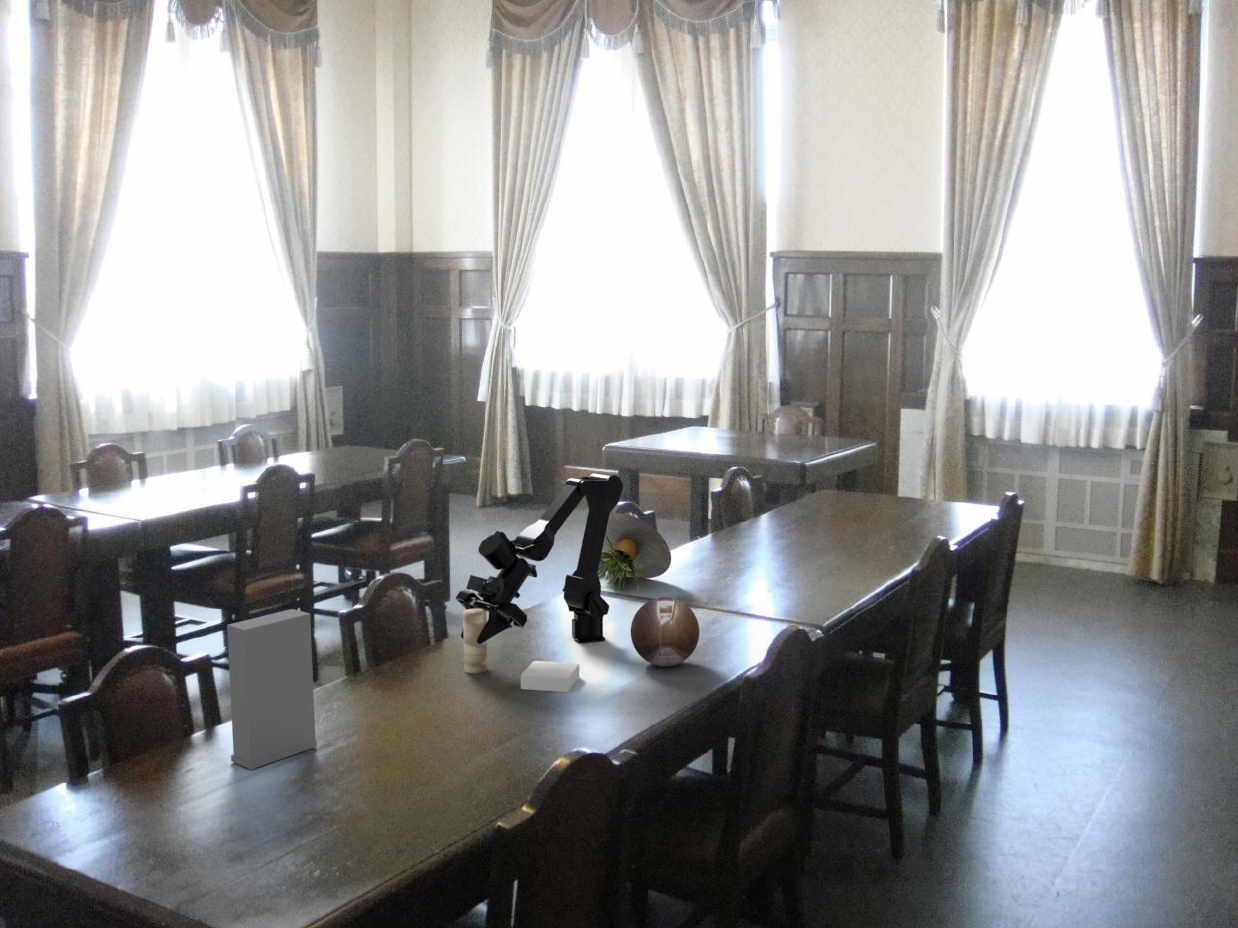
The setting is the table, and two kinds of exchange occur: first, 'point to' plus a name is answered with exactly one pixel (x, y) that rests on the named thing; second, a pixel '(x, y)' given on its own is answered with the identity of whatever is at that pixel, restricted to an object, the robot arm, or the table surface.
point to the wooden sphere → (665, 631)
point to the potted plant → (633, 549)
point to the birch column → (474, 641)
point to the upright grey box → (271, 687)
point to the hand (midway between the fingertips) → (470, 640)
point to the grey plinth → (550, 676)
